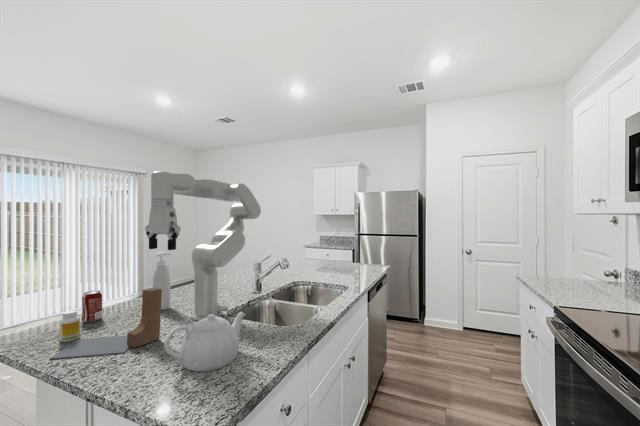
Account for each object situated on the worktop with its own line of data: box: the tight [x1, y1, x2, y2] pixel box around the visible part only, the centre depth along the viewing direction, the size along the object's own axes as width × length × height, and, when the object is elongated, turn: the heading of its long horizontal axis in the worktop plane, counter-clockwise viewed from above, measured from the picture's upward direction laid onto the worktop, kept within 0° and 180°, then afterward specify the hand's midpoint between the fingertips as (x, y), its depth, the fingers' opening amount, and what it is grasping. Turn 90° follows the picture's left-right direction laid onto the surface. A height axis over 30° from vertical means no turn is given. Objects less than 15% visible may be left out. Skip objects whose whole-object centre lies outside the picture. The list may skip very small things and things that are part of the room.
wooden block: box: [126, 287, 162, 349], centre depth 102 cm, size 9×4×18 cm, turn 152°
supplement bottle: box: [59, 309, 81, 343], centre depth 105 cm, size 5×5×10 cm
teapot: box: [164, 311, 247, 372], centre depth 90 cm, size 19×18×14 cm
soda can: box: [81, 289, 103, 323], centre depth 124 cm, size 7×7×12 cm
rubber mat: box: [49, 335, 131, 361], centre depth 99 cm, size 21×14×1 cm, turn 100°
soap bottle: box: [152, 251, 173, 311], centre depth 140 cm, size 14×8×27 cm, turn 48°
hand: (162, 249), depth 111 cm, fingers open, 9 cm apart
